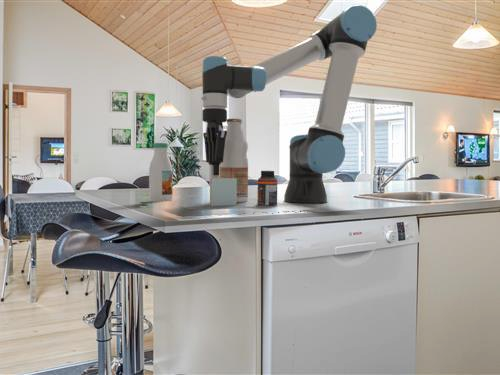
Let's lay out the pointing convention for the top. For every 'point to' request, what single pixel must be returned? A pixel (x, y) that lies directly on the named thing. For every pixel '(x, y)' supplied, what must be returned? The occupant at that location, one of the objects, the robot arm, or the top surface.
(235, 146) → the fruit juice
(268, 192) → the supplement bottle
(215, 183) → the tile
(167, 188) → the milk bottle
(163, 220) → the top surface
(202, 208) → the mat
